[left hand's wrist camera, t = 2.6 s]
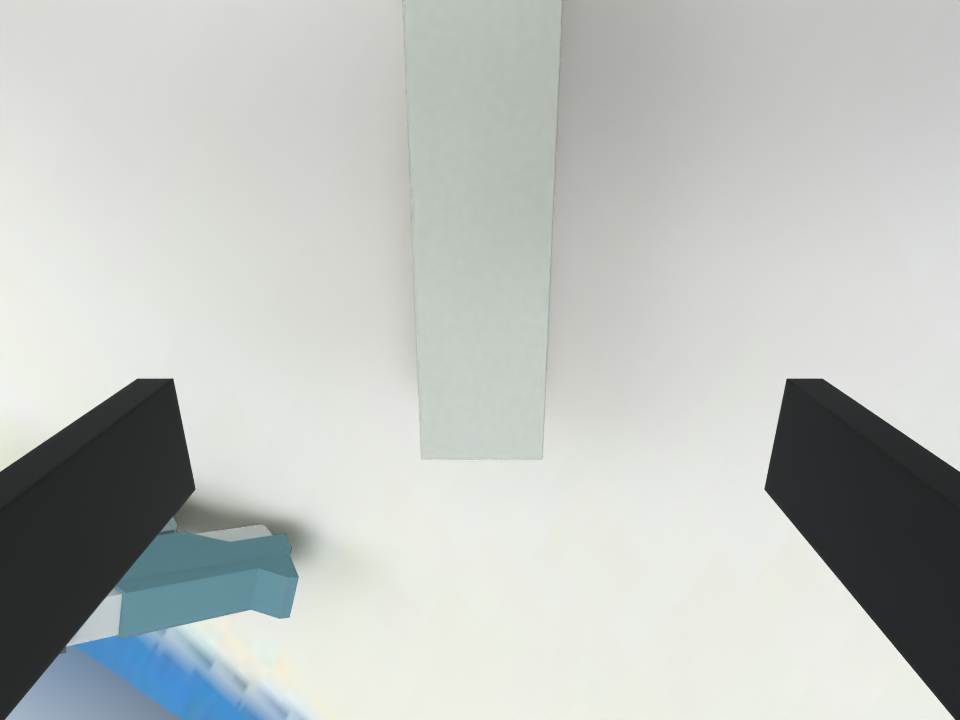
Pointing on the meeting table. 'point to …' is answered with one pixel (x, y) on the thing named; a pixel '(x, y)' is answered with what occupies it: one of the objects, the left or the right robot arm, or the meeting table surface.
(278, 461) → the meeting table surface
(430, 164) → the bar
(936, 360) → the meeting table surface
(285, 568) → the toy gun
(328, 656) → the meeting table surface
